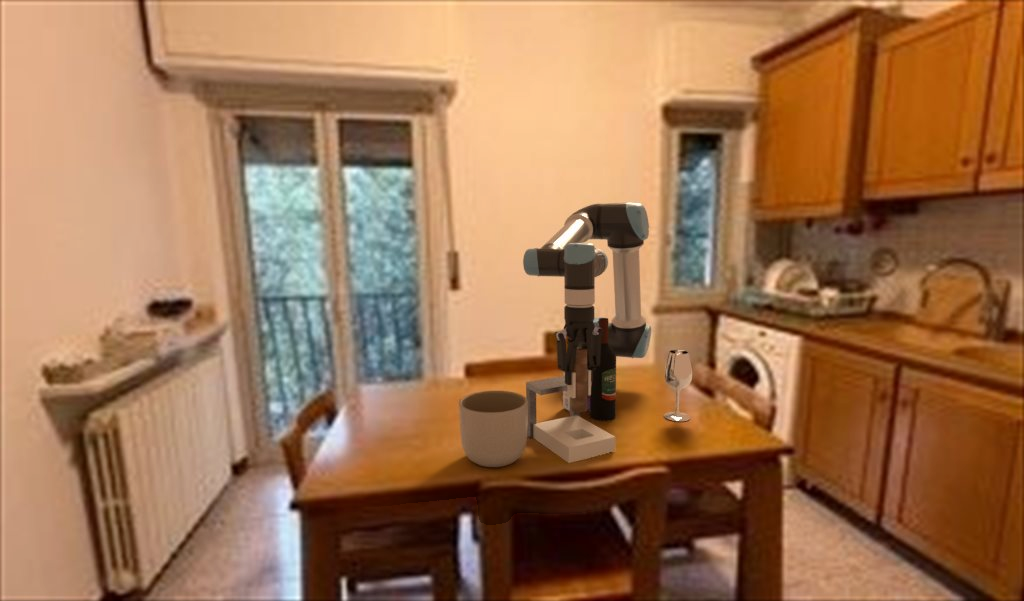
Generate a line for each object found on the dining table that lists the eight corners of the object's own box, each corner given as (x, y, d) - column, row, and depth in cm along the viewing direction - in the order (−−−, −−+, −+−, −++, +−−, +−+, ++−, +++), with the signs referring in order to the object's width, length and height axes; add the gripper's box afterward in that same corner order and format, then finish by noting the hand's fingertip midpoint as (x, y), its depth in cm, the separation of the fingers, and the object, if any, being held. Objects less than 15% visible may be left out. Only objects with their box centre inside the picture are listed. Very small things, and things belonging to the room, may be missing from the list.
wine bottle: (600, 410, 175) (600, 315, 170) (620, 416, 169) (621, 318, 165) (584, 417, 170) (585, 319, 165) (605, 423, 164) (606, 322, 160)
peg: (581, 406, 148) (581, 346, 145) (590, 410, 144) (590, 349, 142) (568, 408, 146) (568, 348, 144) (576, 413, 142) (577, 351, 140)
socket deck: (576, 428, 161) (576, 415, 160) (615, 451, 145) (615, 436, 144) (533, 437, 154) (533, 424, 154) (568, 463, 139) (568, 447, 138)
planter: (532, 472, 134) (531, 411, 132) (460, 476, 133) (458, 414, 130) (524, 443, 151) (524, 389, 148) (460, 447, 149) (459, 391, 147)
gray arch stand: (575, 425, 163) (575, 373, 160) (591, 435, 156) (591, 380, 153) (526, 436, 156) (526, 381, 153) (541, 446, 149) (540, 389, 146)
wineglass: (658, 417, 168) (660, 352, 165) (671, 410, 174) (672, 347, 171) (683, 424, 163) (685, 356, 160) (695, 416, 168) (697, 351, 165)
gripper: (598, 300, 148) (597, 386, 152) (542, 305, 141) (542, 396, 144) (616, 304, 142) (614, 394, 145) (558, 310, 134) (558, 404, 137)
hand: (579, 395), depth 145 cm, fingers closed on peg, 4 cm apart
